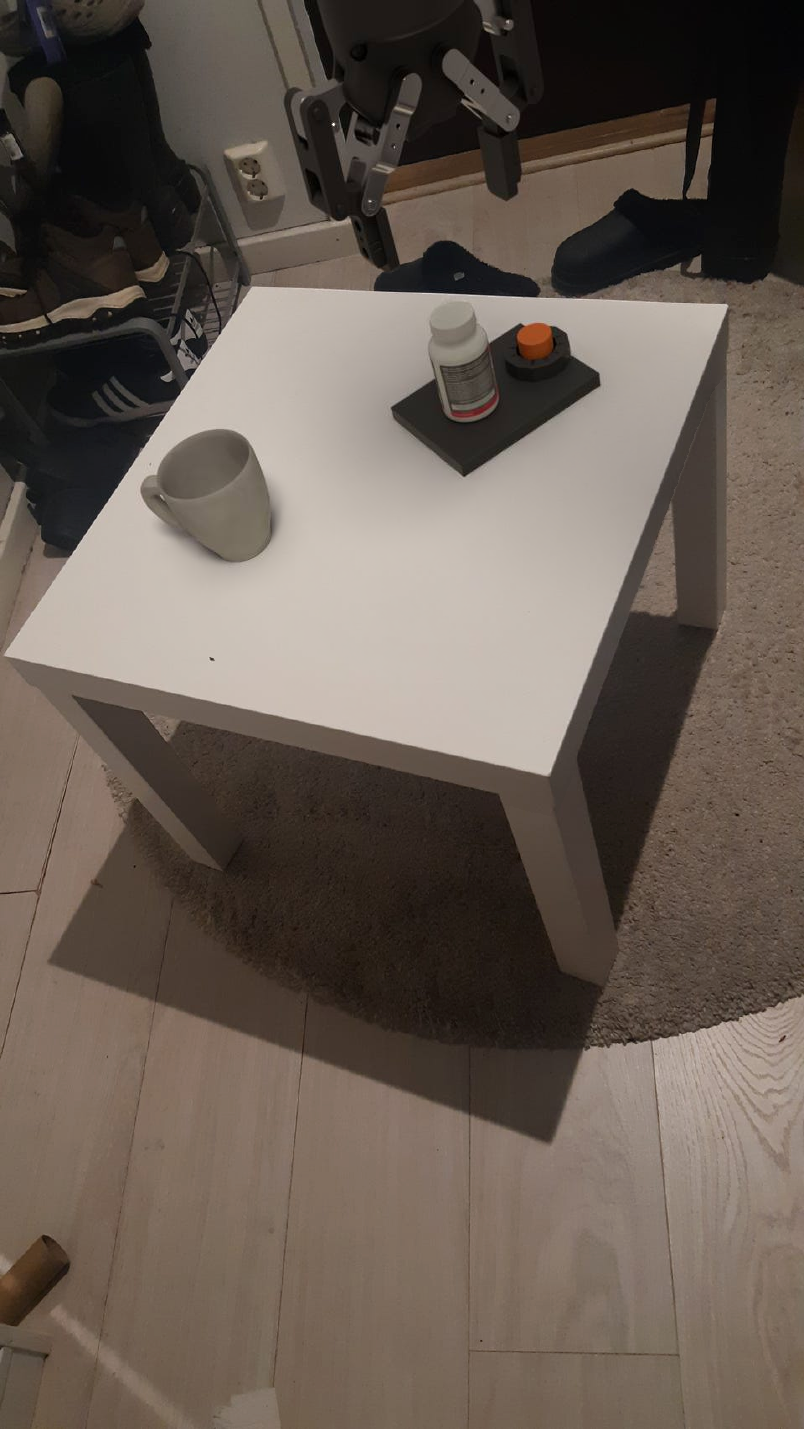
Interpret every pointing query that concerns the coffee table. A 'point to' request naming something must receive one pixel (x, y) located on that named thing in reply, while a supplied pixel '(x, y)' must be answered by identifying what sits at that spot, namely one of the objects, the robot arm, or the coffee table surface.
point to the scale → (500, 402)
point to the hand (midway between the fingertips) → (446, 230)
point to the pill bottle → (462, 363)
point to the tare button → (535, 341)
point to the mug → (213, 493)
